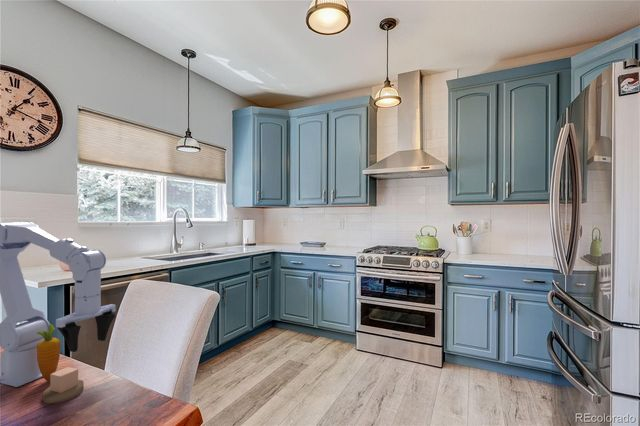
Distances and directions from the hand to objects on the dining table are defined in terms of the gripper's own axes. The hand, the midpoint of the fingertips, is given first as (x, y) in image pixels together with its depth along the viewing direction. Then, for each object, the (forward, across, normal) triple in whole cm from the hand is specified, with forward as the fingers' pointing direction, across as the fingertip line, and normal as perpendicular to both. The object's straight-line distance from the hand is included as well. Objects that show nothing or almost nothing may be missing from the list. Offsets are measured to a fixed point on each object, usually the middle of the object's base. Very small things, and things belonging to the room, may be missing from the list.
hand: (88, 345), depth 86 cm
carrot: (+10, -3, +11) cm, 15 cm away
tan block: (+8, -6, 0) cm, 10 cm away
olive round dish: (+10, -6, 0) cm, 12 cm away
